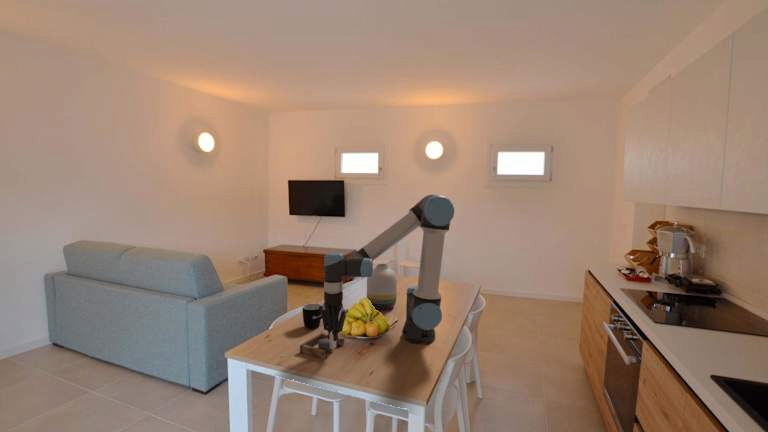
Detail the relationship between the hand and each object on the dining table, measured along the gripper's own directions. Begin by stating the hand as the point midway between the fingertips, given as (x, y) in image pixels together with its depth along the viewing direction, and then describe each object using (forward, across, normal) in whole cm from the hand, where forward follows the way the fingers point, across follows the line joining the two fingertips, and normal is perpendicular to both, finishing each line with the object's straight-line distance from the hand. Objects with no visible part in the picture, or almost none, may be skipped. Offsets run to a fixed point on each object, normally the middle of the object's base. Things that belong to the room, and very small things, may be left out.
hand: (332, 347), depth 146 cm
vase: (+2, +8, -59) cm, 60 cm away
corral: (+2, +5, 0) cm, 5 cm away
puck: (+2, +4, 0) cm, 4 cm away
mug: (+2, +23, -18) cm, 29 cm away
